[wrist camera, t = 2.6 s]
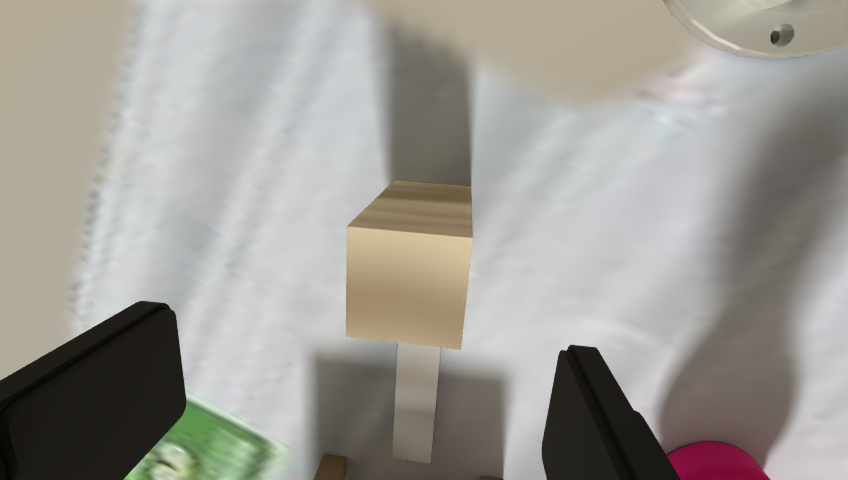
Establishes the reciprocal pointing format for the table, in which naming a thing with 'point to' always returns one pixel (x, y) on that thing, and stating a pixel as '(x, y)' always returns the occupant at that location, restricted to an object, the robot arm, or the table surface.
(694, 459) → the pepper mill
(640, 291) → the table surface
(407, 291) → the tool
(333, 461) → the small wooden table
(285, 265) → the table surface
